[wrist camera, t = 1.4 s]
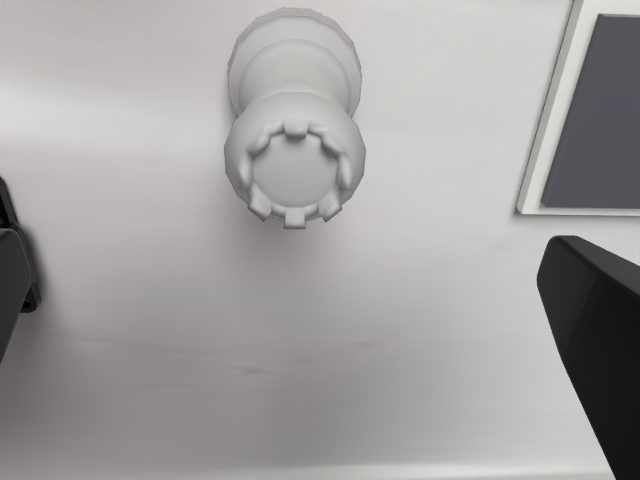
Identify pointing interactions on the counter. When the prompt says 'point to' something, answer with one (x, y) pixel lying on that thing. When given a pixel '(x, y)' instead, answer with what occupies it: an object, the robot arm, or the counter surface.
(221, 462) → the counter surface
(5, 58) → the counter surface
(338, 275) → the counter surface
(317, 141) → the rook chess piece
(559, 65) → the ink pad
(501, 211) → the counter surface
